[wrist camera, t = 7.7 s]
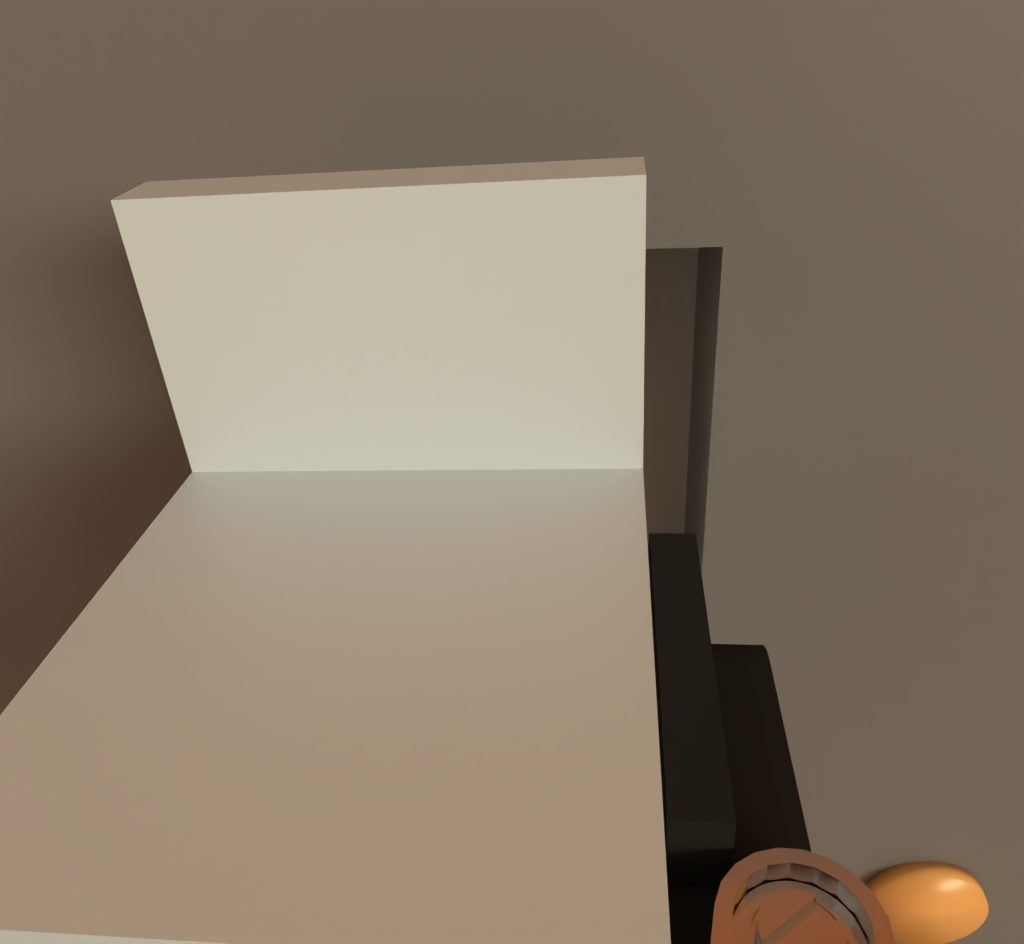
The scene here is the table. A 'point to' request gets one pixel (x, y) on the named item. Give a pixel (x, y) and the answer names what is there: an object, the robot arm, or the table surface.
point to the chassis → (667, 349)
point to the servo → (367, 583)
